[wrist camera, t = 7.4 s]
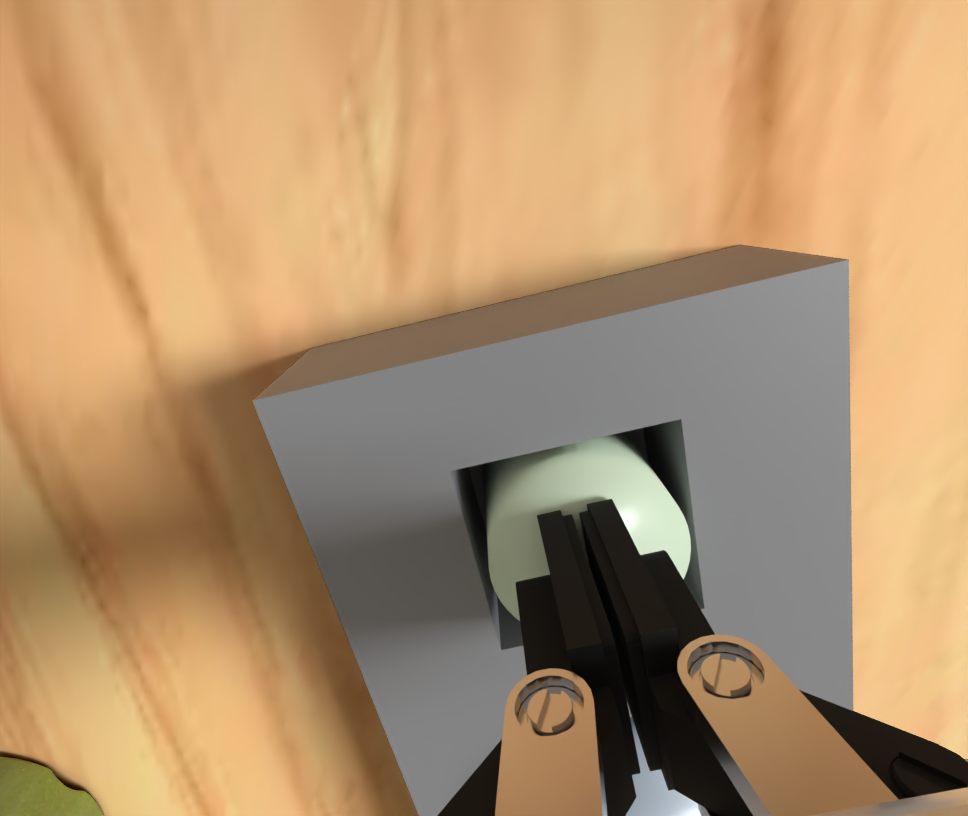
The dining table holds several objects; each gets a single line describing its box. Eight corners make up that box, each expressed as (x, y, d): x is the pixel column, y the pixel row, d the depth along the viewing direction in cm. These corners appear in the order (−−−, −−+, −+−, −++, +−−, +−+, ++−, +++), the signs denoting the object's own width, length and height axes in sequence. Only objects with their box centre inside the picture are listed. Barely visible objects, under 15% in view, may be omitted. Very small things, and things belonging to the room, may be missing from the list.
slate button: (677, 653, 16) (740, 786, 13) (693, 759, 18) (753, 906, 14) (531, 682, 17) (549, 822, 13) (558, 784, 18) (582, 936, 14)
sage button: (626, 386, 15) (678, 446, 11) (647, 524, 16) (700, 618, 13) (467, 423, 15) (467, 493, 11) (502, 555, 17) (511, 657, 13)
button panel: (740, 244, 15) (848, 259, 11) (786, 866, 24) (856, 1010, 19) (311, 348, 16) (251, 401, 11) (510, 915, 24) (519, 1065, 20)
